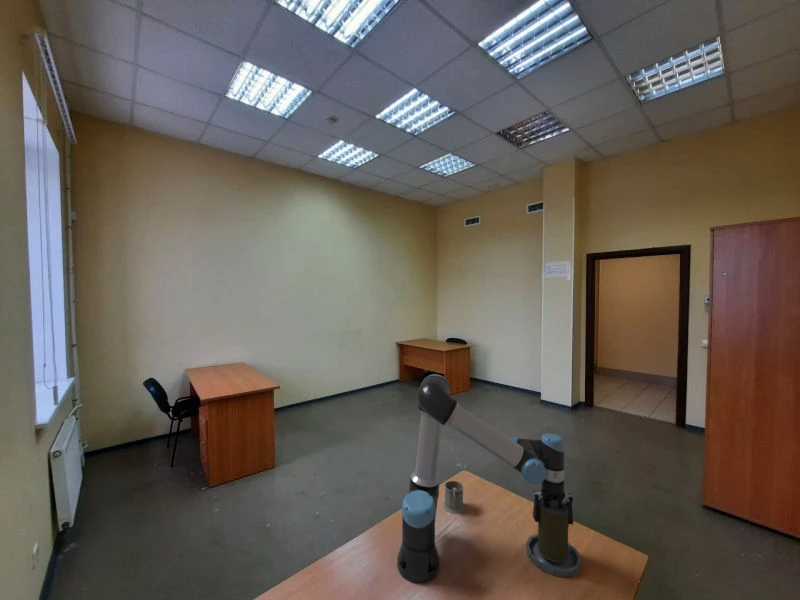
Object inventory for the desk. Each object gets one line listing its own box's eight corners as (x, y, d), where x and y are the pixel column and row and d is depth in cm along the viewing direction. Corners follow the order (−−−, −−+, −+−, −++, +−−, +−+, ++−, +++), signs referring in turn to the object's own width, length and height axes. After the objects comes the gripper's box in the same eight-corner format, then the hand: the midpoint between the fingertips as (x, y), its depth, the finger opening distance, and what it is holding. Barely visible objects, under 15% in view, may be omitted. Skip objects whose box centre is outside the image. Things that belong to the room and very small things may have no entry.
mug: (443, 499, 156) (443, 474, 156) (464, 501, 155) (464, 476, 155) (442, 519, 142) (443, 491, 142) (466, 521, 141) (466, 493, 141)
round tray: (534, 574, 114) (534, 568, 114) (521, 537, 132) (521, 532, 132) (589, 579, 112) (589, 573, 112) (568, 541, 129) (568, 536, 129)
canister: (572, 565, 115) (572, 507, 115) (540, 560, 117) (541, 504, 117) (563, 542, 126) (563, 490, 126) (534, 538, 128) (534, 487, 128)
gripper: (528, 481, 119) (528, 545, 119) (584, 485, 117) (584, 550, 117) (523, 471, 127) (523, 531, 126) (575, 474, 124) (575, 535, 124)
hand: (552, 540), depth 122 cm, fingers open, 6 cm apart
